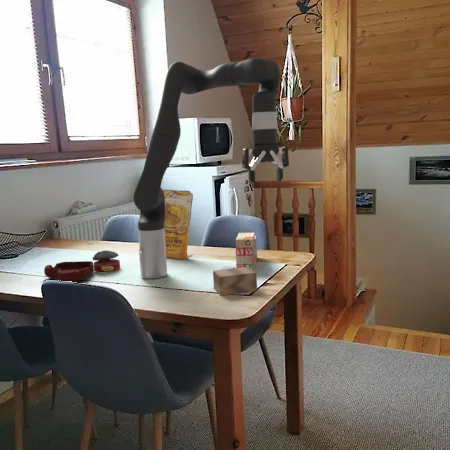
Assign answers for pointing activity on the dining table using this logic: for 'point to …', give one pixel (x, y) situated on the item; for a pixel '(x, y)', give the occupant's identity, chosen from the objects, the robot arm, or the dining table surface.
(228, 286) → the step
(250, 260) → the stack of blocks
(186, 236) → the pancake mix bag
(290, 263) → the dining table surface
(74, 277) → the ashtray
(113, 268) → the canned food
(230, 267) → the block
